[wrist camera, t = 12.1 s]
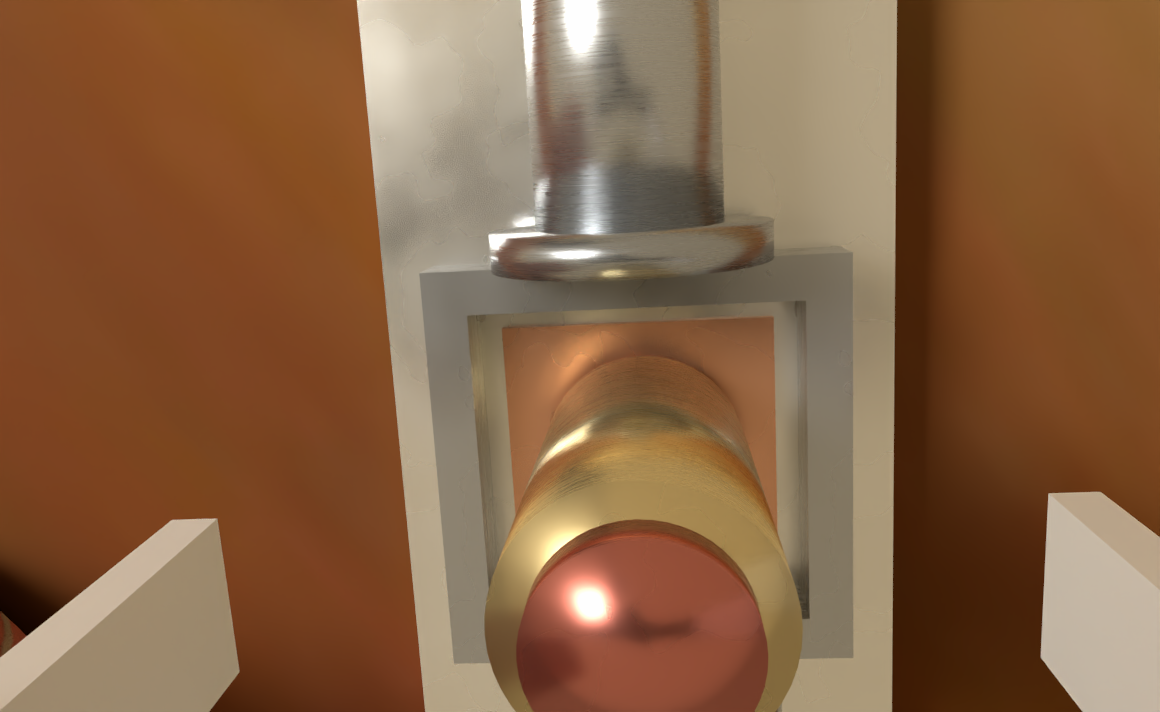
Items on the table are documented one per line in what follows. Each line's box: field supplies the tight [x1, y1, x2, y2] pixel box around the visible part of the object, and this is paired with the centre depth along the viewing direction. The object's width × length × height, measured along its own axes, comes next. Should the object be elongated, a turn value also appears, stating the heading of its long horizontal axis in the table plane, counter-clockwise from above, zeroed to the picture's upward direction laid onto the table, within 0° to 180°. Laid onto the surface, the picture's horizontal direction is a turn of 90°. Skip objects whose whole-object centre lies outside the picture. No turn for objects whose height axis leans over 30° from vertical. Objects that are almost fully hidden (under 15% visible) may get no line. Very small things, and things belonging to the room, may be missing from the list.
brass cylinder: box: [484, 356, 803, 712], centre depth 19 cm, size 5×5×10 cm
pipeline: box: [357, 0, 897, 712], centre depth 22 cm, size 28×12×6 cm, turn 3°
